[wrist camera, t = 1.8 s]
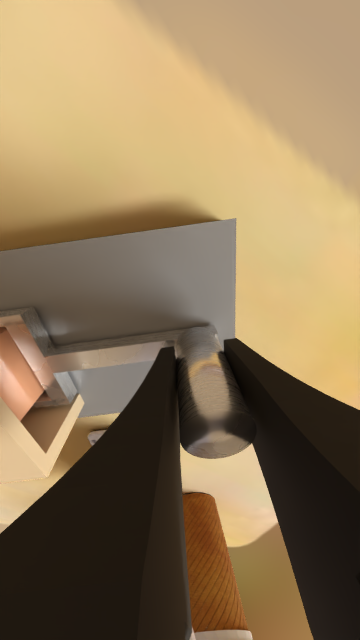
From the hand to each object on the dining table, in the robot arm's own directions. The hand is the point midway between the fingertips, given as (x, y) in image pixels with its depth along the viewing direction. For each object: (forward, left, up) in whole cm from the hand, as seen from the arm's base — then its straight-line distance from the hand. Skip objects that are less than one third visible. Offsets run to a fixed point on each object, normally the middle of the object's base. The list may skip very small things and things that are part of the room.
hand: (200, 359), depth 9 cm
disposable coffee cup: (-30, +3, -5) cm, 31 cm away
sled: (0, +8, -2) cm, 8 cm away
